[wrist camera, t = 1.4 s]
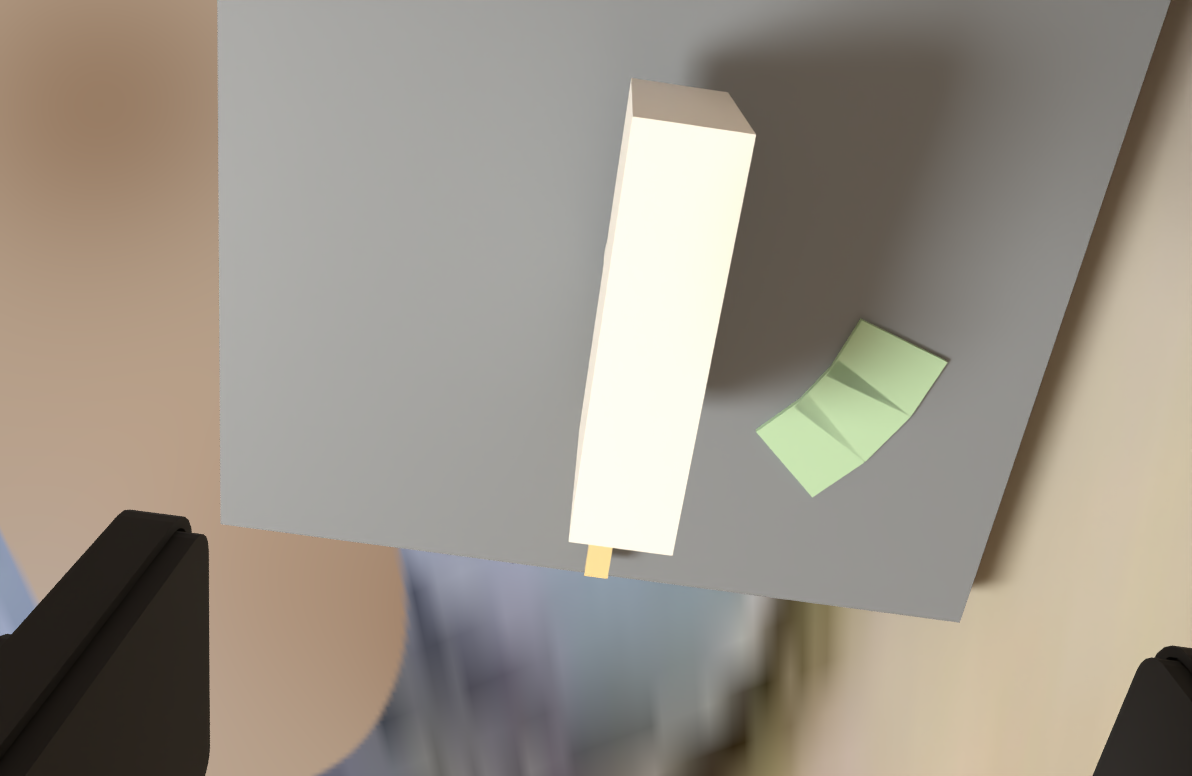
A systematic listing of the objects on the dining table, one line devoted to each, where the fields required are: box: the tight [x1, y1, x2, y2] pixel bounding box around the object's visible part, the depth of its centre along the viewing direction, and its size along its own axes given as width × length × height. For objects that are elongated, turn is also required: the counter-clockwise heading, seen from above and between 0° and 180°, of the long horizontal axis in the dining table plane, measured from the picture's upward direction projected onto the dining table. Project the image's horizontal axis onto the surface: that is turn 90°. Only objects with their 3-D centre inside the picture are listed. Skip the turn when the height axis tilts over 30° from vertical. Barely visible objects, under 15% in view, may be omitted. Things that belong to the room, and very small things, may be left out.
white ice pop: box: [569, 78, 756, 579], centre depth 22 cm, size 12×2×6 cm, turn 171°
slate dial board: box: [217, 0, 1171, 623], centre depth 25 cm, size 18×20×2 cm
